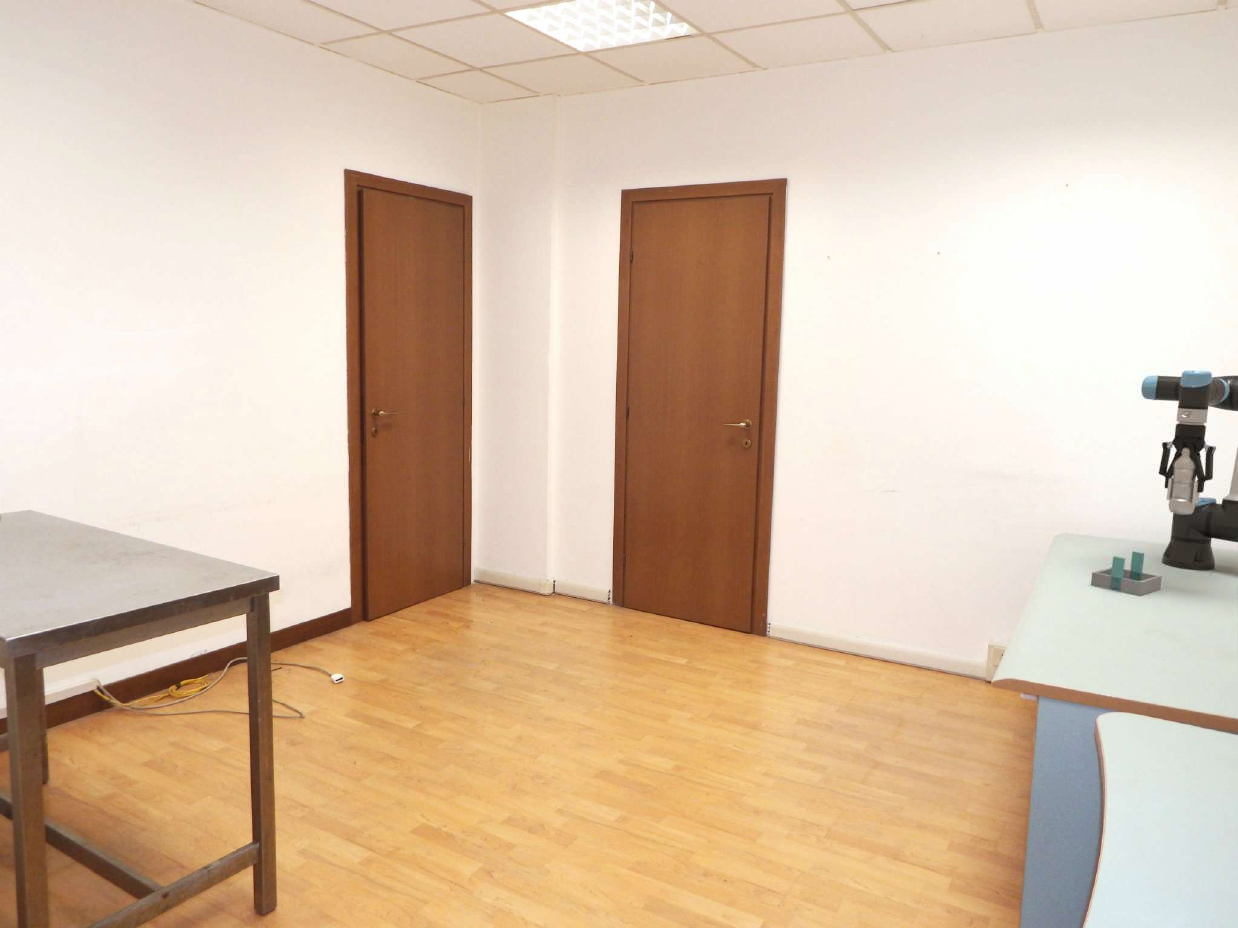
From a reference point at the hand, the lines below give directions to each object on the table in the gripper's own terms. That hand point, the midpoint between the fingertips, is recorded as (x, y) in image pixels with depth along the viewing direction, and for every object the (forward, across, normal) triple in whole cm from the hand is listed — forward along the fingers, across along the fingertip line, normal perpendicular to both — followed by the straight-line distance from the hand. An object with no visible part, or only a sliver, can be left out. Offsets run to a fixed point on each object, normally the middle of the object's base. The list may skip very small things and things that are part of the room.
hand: (1182, 501), depth 268 cm
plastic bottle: (+4, 0, 0) cm, 4 cm away
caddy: (+27, -10, -8) cm, 30 cm away
